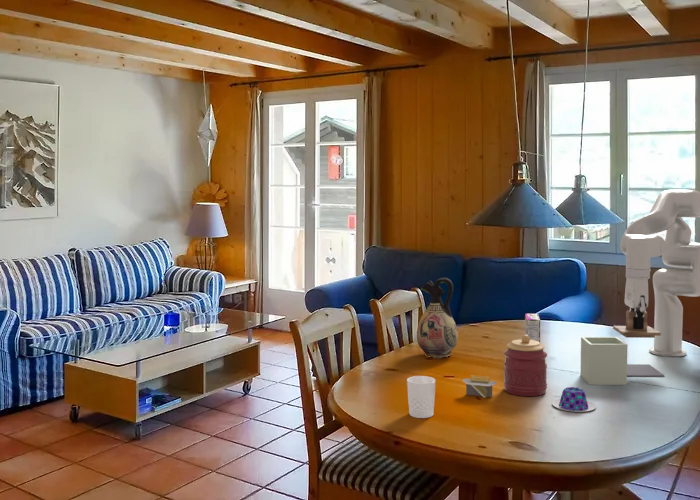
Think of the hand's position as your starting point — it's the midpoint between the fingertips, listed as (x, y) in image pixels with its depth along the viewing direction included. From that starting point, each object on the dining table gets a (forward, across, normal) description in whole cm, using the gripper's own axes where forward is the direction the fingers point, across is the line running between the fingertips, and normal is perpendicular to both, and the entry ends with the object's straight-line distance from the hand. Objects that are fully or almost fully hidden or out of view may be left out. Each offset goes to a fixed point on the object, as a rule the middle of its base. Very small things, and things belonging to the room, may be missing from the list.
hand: (636, 327), depth 233 cm
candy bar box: (+15, -13, -32) cm, 38 cm away
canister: (+16, +23, -41) cm, 50 cm away
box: (+15, +11, -14) cm, 23 cm away
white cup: (+16, +46, -74) cm, 88 cm away
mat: (+15, 0, 0) cm, 15 cm away
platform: (+16, +29, -56) cm, 65 cm away
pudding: (+16, +38, -30) cm, 51 cm away
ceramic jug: (+16, -20, -65) cm, 70 cm away
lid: (+2, 0, 0) cm, 2 cm away
